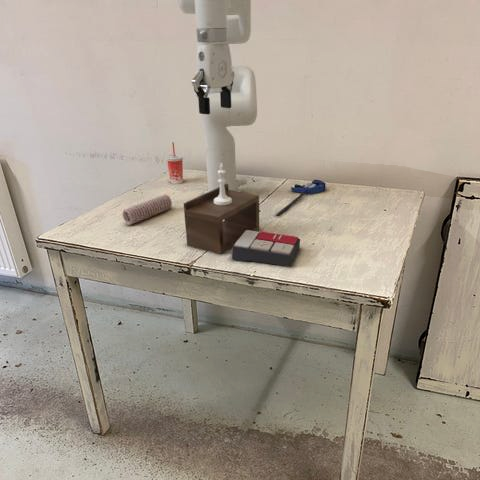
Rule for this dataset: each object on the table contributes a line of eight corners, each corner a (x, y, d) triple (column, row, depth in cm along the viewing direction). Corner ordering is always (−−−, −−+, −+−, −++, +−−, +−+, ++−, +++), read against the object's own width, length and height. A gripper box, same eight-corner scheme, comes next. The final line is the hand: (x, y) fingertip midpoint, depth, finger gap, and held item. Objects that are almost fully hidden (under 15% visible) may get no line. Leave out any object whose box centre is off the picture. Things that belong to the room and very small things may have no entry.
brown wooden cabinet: (227, 222, 142) (226, 183, 136) (259, 229, 137) (259, 189, 131) (187, 245, 129) (183, 203, 123) (220, 254, 124) (218, 210, 118)
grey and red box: (291, 253, 115) (231, 243, 118) (290, 269, 117) (231, 259, 121) (300, 235, 123) (244, 227, 127) (299, 251, 126) (244, 242, 129)
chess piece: (234, 199, 129) (233, 161, 124) (228, 205, 125) (226, 166, 120) (217, 198, 130) (215, 160, 125) (210, 204, 127) (208, 165, 121)
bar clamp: (301, 177, 171) (328, 180, 166) (301, 183, 172) (328, 187, 168) (260, 208, 148) (290, 213, 144) (260, 216, 149) (290, 221, 145)
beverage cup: (184, 184, 176) (180, 144, 168) (167, 184, 176) (163, 144, 168) (185, 179, 181) (182, 140, 173) (169, 179, 181) (165, 140, 173)
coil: (130, 212, 139) (173, 196, 151) (119, 208, 141) (163, 191, 153) (131, 227, 141) (174, 210, 153) (120, 223, 143) (163, 205, 155)
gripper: (203, 39, 113) (207, 117, 122) (243, 35, 125) (244, 106, 134) (178, 39, 116) (184, 115, 126) (220, 34, 128) (222, 104, 138)
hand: (215, 110), depth 130 cm, fingers open, 9 cm apart
